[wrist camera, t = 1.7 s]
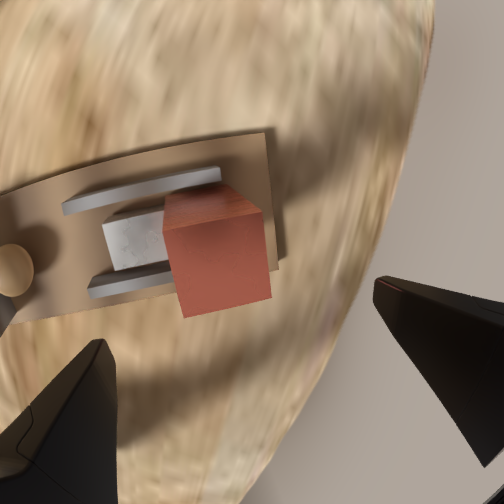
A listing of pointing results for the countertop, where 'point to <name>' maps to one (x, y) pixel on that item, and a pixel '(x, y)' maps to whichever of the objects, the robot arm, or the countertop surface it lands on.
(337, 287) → the countertop surface
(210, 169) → the nutcracker base
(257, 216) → the block
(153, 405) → the countertop surface
